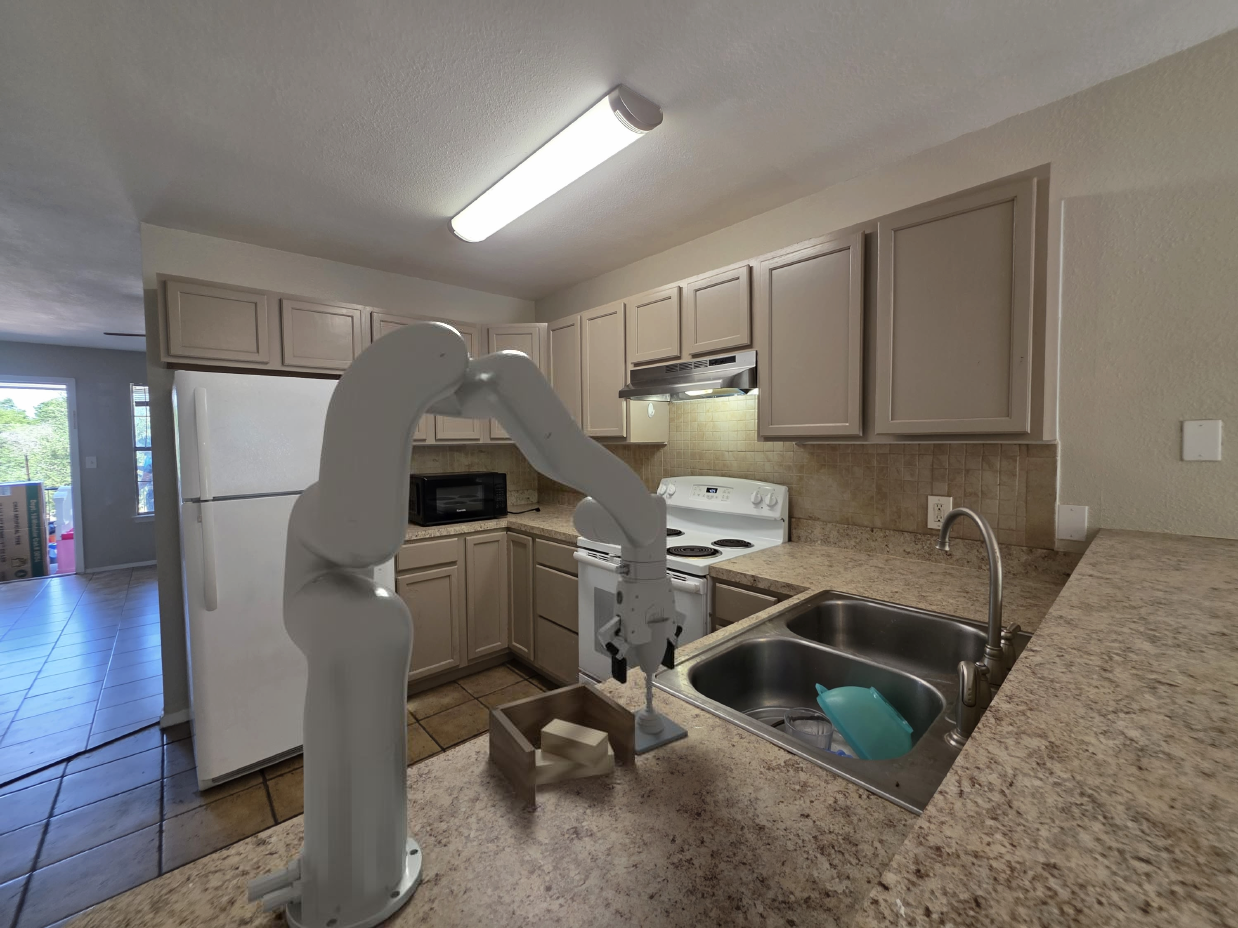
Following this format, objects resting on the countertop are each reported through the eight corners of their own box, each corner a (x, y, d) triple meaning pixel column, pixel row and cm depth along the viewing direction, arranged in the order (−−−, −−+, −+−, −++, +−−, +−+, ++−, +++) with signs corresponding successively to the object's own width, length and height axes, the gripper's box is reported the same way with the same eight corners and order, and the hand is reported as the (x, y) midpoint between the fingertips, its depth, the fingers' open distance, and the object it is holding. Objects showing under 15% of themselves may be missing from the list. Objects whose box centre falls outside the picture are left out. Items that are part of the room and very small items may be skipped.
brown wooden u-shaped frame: (526, 806, 65) (526, 752, 65) (489, 754, 77) (489, 708, 77) (635, 762, 74) (635, 714, 74) (586, 722, 86) (586, 680, 86)
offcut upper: (541, 750, 73) (541, 729, 73) (555, 738, 76) (555, 718, 76) (595, 767, 69) (595, 745, 69) (608, 754, 72) (607, 733, 72)
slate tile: (637, 754, 76) (637, 750, 76) (602, 725, 85) (602, 722, 85) (687, 734, 82) (687, 730, 82) (650, 709, 90) (650, 706, 90)
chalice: (676, 733, 81) (676, 621, 81) (635, 739, 80) (634, 624, 79) (661, 711, 88) (661, 608, 88) (623, 716, 87) (623, 611, 86)
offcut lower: (536, 787, 69) (536, 766, 69) (533, 770, 73) (533, 749, 73) (614, 774, 72) (614, 753, 72) (607, 758, 76) (607, 739, 76)
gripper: (612, 580, 75) (612, 695, 75) (698, 567, 85) (698, 669, 85) (586, 571, 82) (586, 678, 82) (670, 559, 91) (670, 655, 91)
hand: (644, 673), depth 83 cm, fingers open, 9 cm apart
